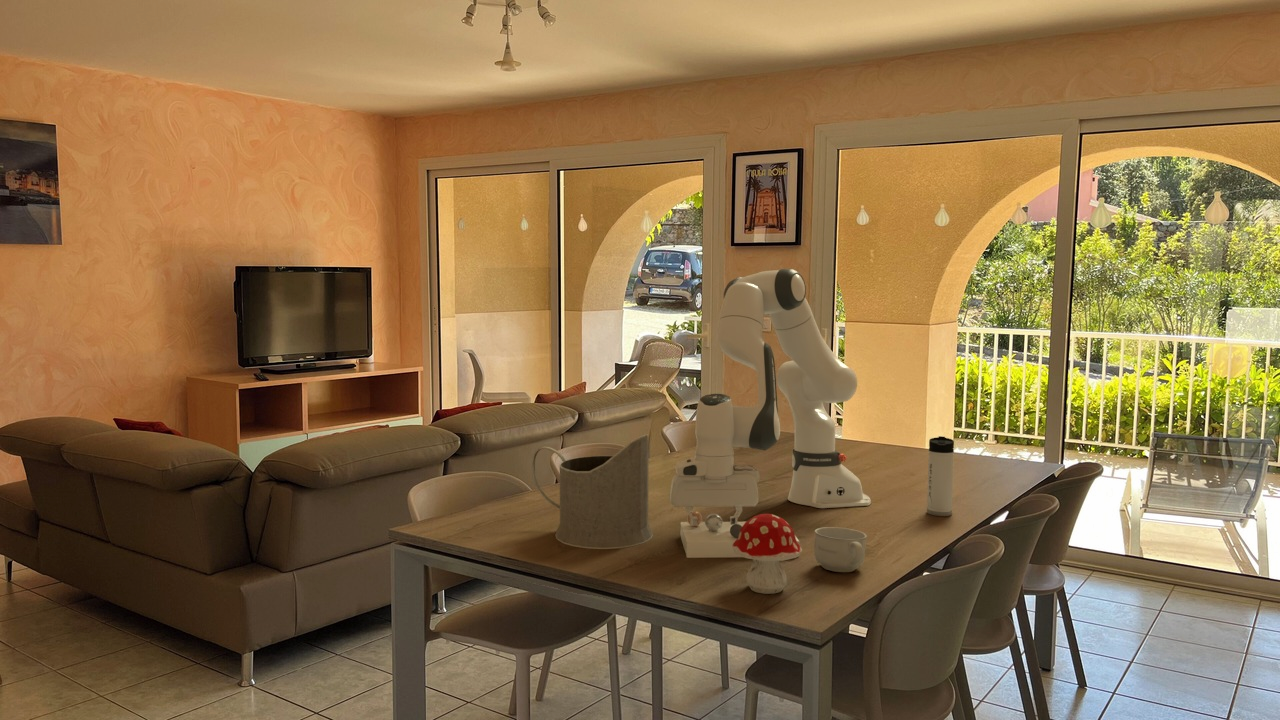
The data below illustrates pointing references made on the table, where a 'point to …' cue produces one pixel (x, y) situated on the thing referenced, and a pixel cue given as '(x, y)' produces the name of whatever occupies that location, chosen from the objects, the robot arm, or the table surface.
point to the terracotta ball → (696, 514)
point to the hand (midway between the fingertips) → (713, 524)
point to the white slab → (709, 541)
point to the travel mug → (940, 476)
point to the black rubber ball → (735, 530)
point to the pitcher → (603, 498)
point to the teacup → (839, 548)
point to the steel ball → (713, 522)
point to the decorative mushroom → (766, 551)
